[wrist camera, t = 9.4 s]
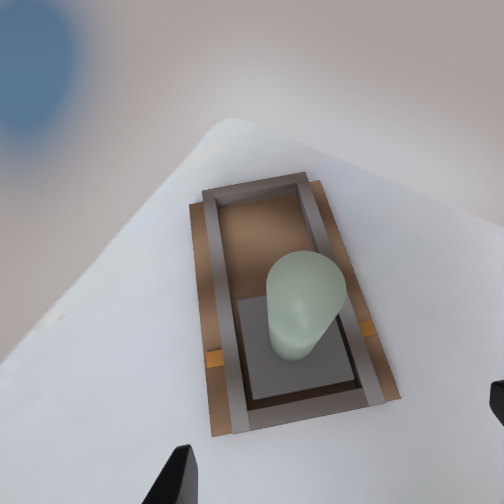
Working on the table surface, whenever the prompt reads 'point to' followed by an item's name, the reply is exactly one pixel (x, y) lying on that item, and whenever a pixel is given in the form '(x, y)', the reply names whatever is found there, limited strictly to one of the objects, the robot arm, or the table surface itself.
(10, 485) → the table surface
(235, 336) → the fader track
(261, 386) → the fader knob
